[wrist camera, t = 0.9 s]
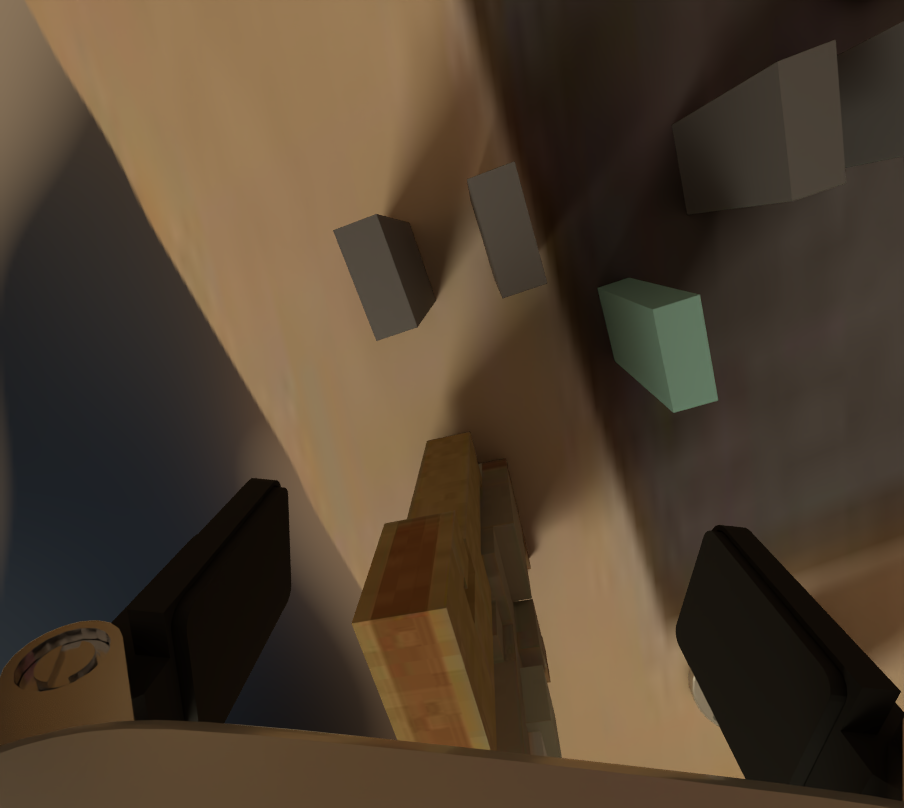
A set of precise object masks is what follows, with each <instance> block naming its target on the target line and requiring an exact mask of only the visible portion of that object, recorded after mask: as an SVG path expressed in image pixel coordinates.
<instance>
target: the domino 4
mask: <svg viewBox="0 0 904 808" xmlns="http://www.w3.org/2000/svg"><path fill="white" fill-rule="evenodd" d="M672 130H673V136H674V142H675V147H676V153H677V159H678V165H679V171H680V177H681V182H682V188H683V194H684V200H685V206H686V211H687V215H689V214H697V213H705V212H712V211H720V210H728V209H736V208H744V207H752V206H760V205H767V204H775V203H783V202H791V201H795V200H798V199H801V198H804V197H807V196H810V195H813V194H816V193H819V192H822V191H825V190H828V189H831V188H834V187H837V186H840V185H843V184H846V173H845V160H844V146H843V132H842V119H841V105H840V91H839V78H838V64H837V50H836V40H833V41H830V42H828V43H825V44H822V45H820V46H817V47H815V48H812V49H809V50H807V51H804V52H801V53H799V54H796V55H793V56H791V57H788V58H786V59H783V60H780V61H778V62H776V63H774V64H773V65H771V66H769V67H768V68H766V69H764V70H763V71H761V72H759V73H758V74H756V75H754V76H753V77H751V78H749V79H748V80H746V81H744V82H743V83H741V84H739V85H738V86H736V87H734V88H733V89H731V90H729V91H728V92H726V93H724V94H723V95H721V96H719V97H718V98H716V99H714V100H713V101H711V102H709V103H708V104H706V105H704V106H703V107H701V108H699V109H698V110H696V111H694V112H693V113H691V114H689V115H688V116H686V117H684V118H683V119H681V120H679V121H678V122H676V123H674V124H673V125H672Z"/></svg>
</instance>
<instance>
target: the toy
mask: <svg viewBox="0 0 904 808" xmlns="http://www.w3.org/2000/svg"><path fill="white" fill-rule="evenodd" d="M527 569H531V568H530V561H529V556H528V552H527V548H526V543H525V539H524V535H523V531H522V526H521V522H520V518H519V513H518V509H517V505H516V501H515V496H514V492H513V488H512V483H511V479H510V475H509V471H508V466H507V462H506V459H501V460H496V461H491V462H486V463H481V464H478V461H477V457H476V453H475V449H474V445H473V441H472V437H471V433H470V432H467V433H462V434H457V435H453V436H448V437H443V438H438V439H434V440H429V441H427V443H426V447H425V451H424V455H423V459H422V463H421V467H420V470H419V474H418V478H417V482H416V486H415V490H414V494H413V498H412V502H411V506H410V509H409V513H408V517H407V519H406V520H401V521H396V522H390V523H385V524H384V527H383V530H382V533H381V536H380V539H379V542H378V545H377V548H376V551H375V554H374V557H373V560H372V563H371V567H370V570H369V573H368V576H367V579H366V582H365V585H364V588H363V591H362V594H361V597H360V600H359V603H358V606H357V609H356V612H355V615H354V618H353V621H352V626H353V628H354V631H355V633H356V636H357V638H358V641H359V643H360V646H361V649H362V651H363V654H364V656H365V659H366V661H367V664H368V666H369V669H370V671H371V674H372V676H373V679H374V682H375V684H376V686H377V689H378V692H379V694H380V696H381V699H382V702H383V704H384V707H385V709H386V712H387V715H388V717H389V720H390V722H391V725H392V727H393V730H394V732H395V735H396V737H397V740H400V741H410V742H419V743H429V744H438V745H448V746H457V747H466V748H475V749H484V750H493V751H503V752H512V753H521V754H530V755H539V756H548V757H557V758H562V757H561V750H560V744H559V738H558V732H557V726H556V719H555V714H554V710H553V705H552V701H551V697H550V693H549V689H548V685H547V683H548V682H551V681H550V675H549V669H548V663H547V657H546V651H545V647H544V642H543V638H542V636H541V632H540V628H539V624H538V620H537V615H536V611H535V607H534V603H533V599H531V598H532V596H531V589H530V583H529V576H528V570H527ZM525 599H530V600H525ZM519 600H524V601H519Z"/></svg>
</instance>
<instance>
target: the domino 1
mask: <svg viewBox="0 0 904 808" xmlns="http://www.w3.org/2000/svg"><path fill="white" fill-rule="evenodd" d="M333 231H334V234H335V236H336V239H337V242H338V244H339V247H340V249H341V252H342V254H343V257H344V259H345V262H346V264H347V267H348V270H349V272H350V275H351V277H352V280H353V282H354V285H355V287H356V290H357V292H358V295H359V298H360V300H361V303H362V305H363V308H364V310H365V313H366V315H367V318H368V320H369V323H370V326H371V328H372V331H373V333H374V336H375V338H376V341H378V340H381V339H384V338H387V337H390V336H393V335H396V334H399V333H402V332H405V331H408V330H411V329H414V328H417V327H418V326H419V324H420V323H421V321H422V320H423V319H424V317H425V316H426V314H427V313H428V311H429V310H430V308H431V307H432V306H433V304H434V303H435V301H436V299H435V297H434V294H433V291H432V288H431V285H430V282H429V279H428V276H427V273H426V270H425V267H424V265H423V262H422V259H421V256H420V253H419V250H418V247H417V244H416V241H415V238H414V235H413V233H412V230H411V227H410V224H409V223H408V222H404V221H401V220H397V219H393V218H390V217H386V216H382V215H378V214H375V215H373V216H370V217H367V218H365V219H362V220H359V221H357V222H354V223H351V224H349V225H346V226H344V227H341V228H338V229H336V230H333Z"/></svg>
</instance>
